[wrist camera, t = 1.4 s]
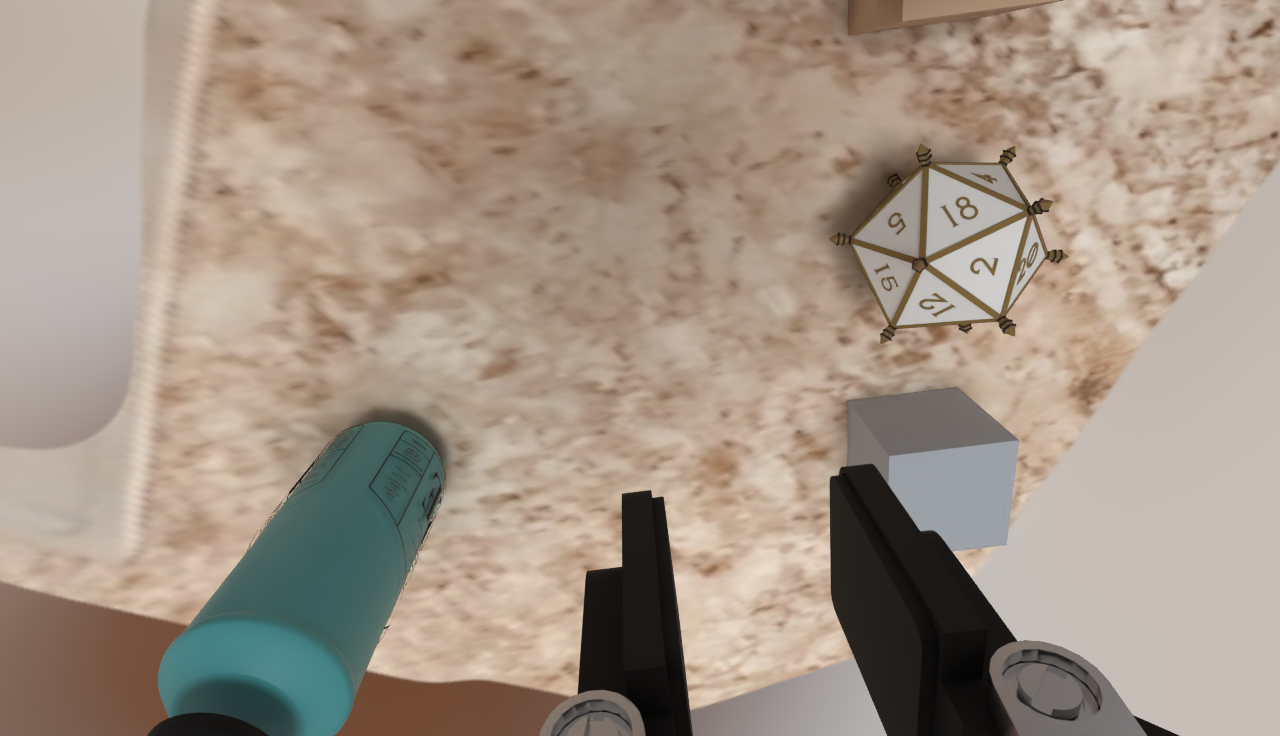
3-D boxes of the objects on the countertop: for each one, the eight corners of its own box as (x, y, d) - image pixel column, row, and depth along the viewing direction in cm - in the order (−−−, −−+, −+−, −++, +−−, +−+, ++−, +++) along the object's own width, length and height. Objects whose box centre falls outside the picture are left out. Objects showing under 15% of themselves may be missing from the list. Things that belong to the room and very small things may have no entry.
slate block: (847, 400, 36) (889, 456, 30) (956, 386, 36) (1018, 440, 30) (847, 491, 38) (886, 559, 32) (949, 479, 38) (1006, 544, 32)
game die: (891, 179, 35) (1072, 68, 26) (961, 322, 35) (1167, 263, 26) (765, 234, 31) (921, 128, 22) (843, 393, 31) (1031, 354, 22)
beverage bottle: (321, 411, 35) (-12, 766, 16) (443, 396, 35) (246, 738, 16) (355, 511, 37) (100, 917, 19) (470, 498, 37) (324, 893, 19)
